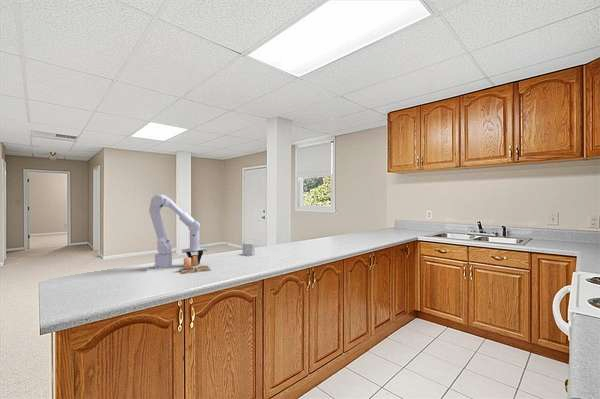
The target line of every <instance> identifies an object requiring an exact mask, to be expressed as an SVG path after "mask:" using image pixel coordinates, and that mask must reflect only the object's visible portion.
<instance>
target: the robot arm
mask: <svg viewBox="0 0 600 399" xmlns="http://www.w3.org/2000/svg"><path fill="white" fill-rule="evenodd" d="M163 207H168V208H170V210H172V212H174V213H175V214H176V215H177V216H178V218H179V220H180V221H181V223H183V224H184V225H185V226H186V227H187V228H188V230H189V248H184V249H181V254H186V256H187V258H191V256H192V253H196V252H197V255H198V265H199V264H200V263H201V259H202V256H203V255H204V252H208V247H200V246H201V244H200V241H201V239H200V237H201V236H200V234H201V233H200V228H201V224H200V222H199V221H198V220H196V219H195V218H193V217H192V216H191V213H190V212H187V211H186V212H184V211H183V210H182V209H181V208H180V206H178V205H177V204H176V203H175V202H174V201H173V199H171V198H170V197H168V196H167V195H166V194H164V193H162V194H157V193H156V194H155V195H153V196H152V198H151V200H150V204H149V209H148V211H149V216H150V218H151V222H152V226H153V228H154V230H155V234H156V238H157V242H156V244H157V249H156V251H157V252H158V253H155V254H154V265H153V266H154V269H155V270H156V269H157V270H158V269H168V268H171V267H173V252H172V249H173V247H174V244H173V242H172V241H170V238H169V237H168V235H167V232H166V228H165V225H164V222H163V218H162V215H161V212H160V211H161V210H162V208H163ZM191 265H192V262H191Z"/></svg>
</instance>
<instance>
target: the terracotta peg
mask: <svg viewBox="0 0 600 399" xmlns="http://www.w3.org/2000/svg"><path fill="white" fill-rule="evenodd" d="M191 262H192V265H191V267H196V266H199V264H198V254H191Z"/></svg>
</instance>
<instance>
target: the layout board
mask: <svg viewBox="0 0 600 399" xmlns="http://www.w3.org/2000/svg"><path fill="white" fill-rule="evenodd" d="M211 271H212V269H211V267H210V266H209V264H208V265H198V266H191V270H185V271H184V267H180V268H179V274H180V275H187V274H195V273H202V272H211Z"/></svg>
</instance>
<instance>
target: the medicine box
mask: <svg viewBox="0 0 600 399" xmlns="http://www.w3.org/2000/svg"><path fill="white" fill-rule="evenodd" d="M255 244H256V243H255V242H243V243H242V245H241V246H242V256H250V257H252V256H255V255H256V251H255V250H256V248H255V247H256V246H255Z"/></svg>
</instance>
